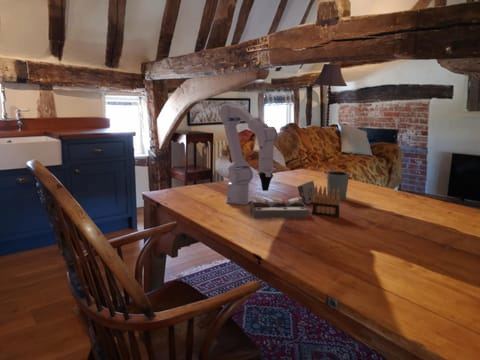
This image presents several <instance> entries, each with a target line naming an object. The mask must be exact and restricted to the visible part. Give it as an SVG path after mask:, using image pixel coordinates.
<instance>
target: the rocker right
mask: <svg viewBox="0 0 480 360" xmlns="http://www.w3.org/2000/svg"><path fill="white" fill-rule="evenodd" d="M301 201H303V200H302V198H301V197H300V196H297V197H293V198H290V199H288V201H287V202H289V203H290V204H293V203H298V202H301Z"/></svg>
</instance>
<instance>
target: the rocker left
mask: <svg viewBox="0 0 480 360" xmlns="http://www.w3.org/2000/svg"><path fill="white" fill-rule="evenodd" d="M254 202H260V203H261V204H263V203H264V204H268V203H269V202H270V201H269V199H265V198H261V197H258V196H255V197H254Z"/></svg>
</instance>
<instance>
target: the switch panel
mask: <svg viewBox="0 0 480 360" xmlns="http://www.w3.org/2000/svg"><path fill="white" fill-rule="evenodd" d="M268 202H269V203H268V204H264V203H263V204H261V203H260V202H256V201H253V202H252V201H250V210H251V214H252V217H253V219H294V218H295V219H296V218H297V219H298V218H299V219H301V218H302V219H303V218H310V209H309V208H308V207H307V206H306V204H305V203H303V202H301V201H300V202H298V203H293V204H290V203H289V201H285V202H286V203H285V204H282V203H279V204H278V202H274V201H268Z"/></svg>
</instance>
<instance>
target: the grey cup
mask: <svg viewBox="0 0 480 360" xmlns="http://www.w3.org/2000/svg"><path fill="white" fill-rule="evenodd" d="M326 176H327V177H326V179H327V180H326V183H327V184H326V185H327V187H326V195H327V194H328V189H329V187H330V190H331V197H332V191H333V188H335V201H336V196H337V190H338V188H339V189H340V201H342V200H343V201H344V200H346V198H347V192H348V185H349V180H350V179H349V178H350V172H345V171H342V170H330V171H327V173H326Z"/></svg>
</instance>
